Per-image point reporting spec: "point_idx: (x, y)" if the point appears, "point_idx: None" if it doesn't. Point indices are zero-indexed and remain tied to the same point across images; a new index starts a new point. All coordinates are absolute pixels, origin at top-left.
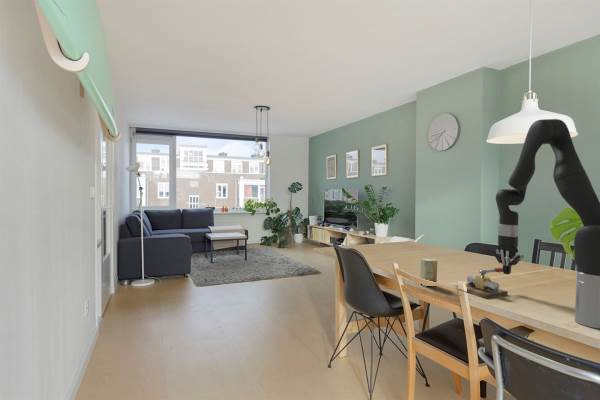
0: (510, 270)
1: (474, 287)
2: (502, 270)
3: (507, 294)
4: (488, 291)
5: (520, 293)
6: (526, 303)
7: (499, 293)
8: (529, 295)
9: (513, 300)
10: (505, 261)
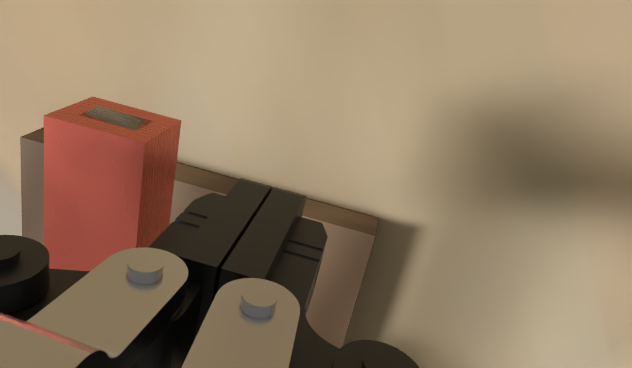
0: (317, 269)
1: None
2: (158, 203)
3: (377, 222)
4: None
5: (455, 21)
6: (601, 364)
7: (342, 341)
8: (565, 18)
9: (482, 357)
10: (84, 322)
